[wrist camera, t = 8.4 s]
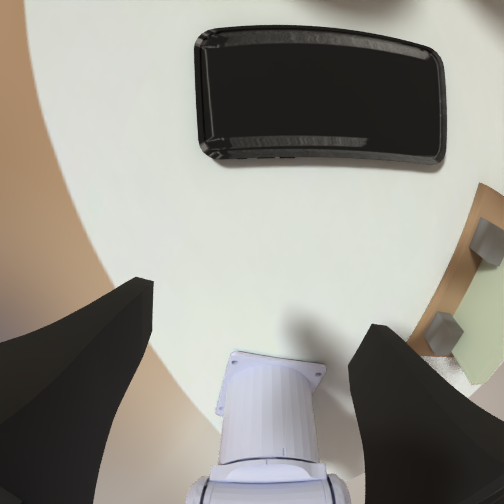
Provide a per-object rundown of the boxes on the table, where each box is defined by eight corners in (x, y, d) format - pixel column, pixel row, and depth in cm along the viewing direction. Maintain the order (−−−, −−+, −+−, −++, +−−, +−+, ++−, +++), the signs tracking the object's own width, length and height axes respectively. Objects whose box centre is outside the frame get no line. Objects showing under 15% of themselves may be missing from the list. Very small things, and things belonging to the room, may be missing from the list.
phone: (193, 31, 12) (442, 51, 11) (197, 36, 13) (433, 53, 12) (200, 162, 15) (445, 168, 14) (204, 160, 16) (436, 165, 15)
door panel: (454, 337, 20) (485, 383, 14) (440, 335, 20) (471, 385, 14) (506, 235, 16) (554, 269, 10) (494, 228, 16) (545, 264, 10)
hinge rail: (453, 350, 22) (468, 374, 19) (403, 347, 21) (417, 375, 18) (522, 210, 16) (548, 225, 12) (479, 182, 15) (510, 195, 12)
